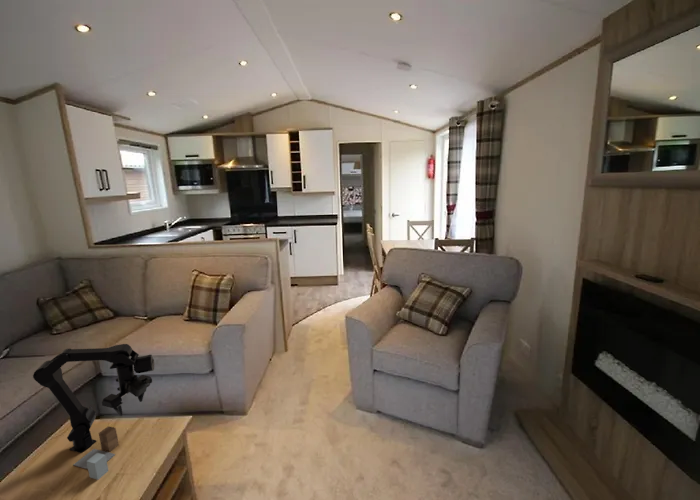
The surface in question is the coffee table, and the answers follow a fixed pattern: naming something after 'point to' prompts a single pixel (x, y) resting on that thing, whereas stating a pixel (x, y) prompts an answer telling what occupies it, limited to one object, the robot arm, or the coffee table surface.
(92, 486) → the coffee table surface
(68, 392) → the robot arm
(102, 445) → the walnut block
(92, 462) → the bluegrey block
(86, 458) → the felt mat
